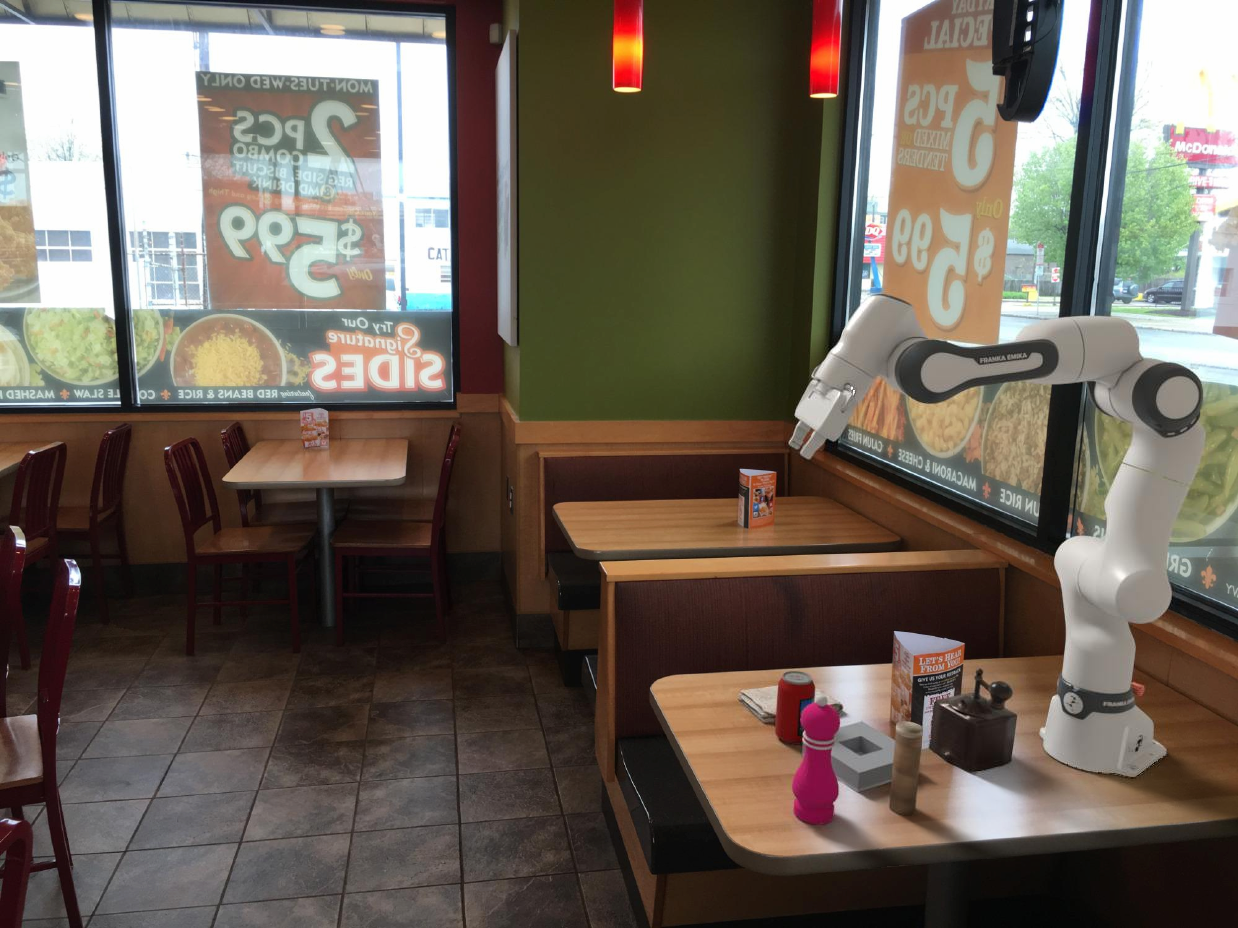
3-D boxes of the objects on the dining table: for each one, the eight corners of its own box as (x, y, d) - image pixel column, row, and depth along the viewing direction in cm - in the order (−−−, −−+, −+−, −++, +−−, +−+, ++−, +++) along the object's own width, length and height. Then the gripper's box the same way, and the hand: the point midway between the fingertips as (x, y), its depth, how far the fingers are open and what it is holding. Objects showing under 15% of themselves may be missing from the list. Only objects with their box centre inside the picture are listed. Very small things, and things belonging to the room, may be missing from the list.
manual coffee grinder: (923, 748, 174) (932, 654, 170) (968, 737, 178) (978, 646, 175) (990, 789, 160) (1001, 688, 157) (1037, 776, 165) (1048, 678, 161)
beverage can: (811, 748, 172) (816, 686, 170) (773, 743, 174) (777, 681, 171) (811, 731, 179) (816, 671, 177) (775, 727, 180) (779, 667, 178)
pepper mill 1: (842, 826, 148) (852, 705, 144) (797, 826, 147) (805, 705, 143) (829, 801, 155) (837, 685, 151) (785, 801, 154) (793, 685, 150)
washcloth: (734, 702, 192) (734, 687, 191) (810, 690, 198) (811, 676, 198) (764, 728, 181) (765, 712, 180) (843, 714, 188) (845, 700, 187)
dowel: (901, 799, 156) (909, 719, 153) (920, 811, 152) (928, 729, 150) (883, 805, 154) (890, 724, 151) (902, 817, 150) (910, 735, 148)
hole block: (860, 738, 177) (861, 721, 176) (918, 773, 165) (919, 754, 164) (801, 755, 170) (803, 736, 169) (857, 792, 158) (859, 772, 157)
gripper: (875, 398, 150) (828, 473, 152) (843, 384, 170) (801, 450, 172) (841, 378, 149) (794, 453, 151) (813, 366, 169) (772, 433, 171)
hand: (798, 451), depth 162 cm, fingers open, 8 cm apart
